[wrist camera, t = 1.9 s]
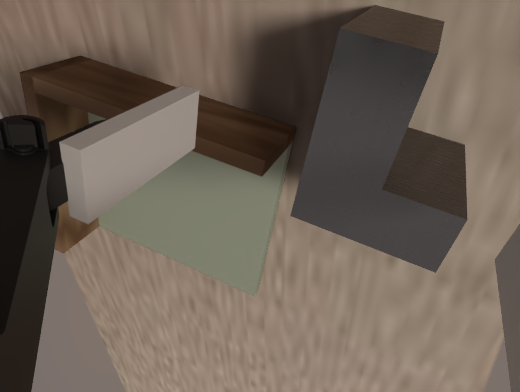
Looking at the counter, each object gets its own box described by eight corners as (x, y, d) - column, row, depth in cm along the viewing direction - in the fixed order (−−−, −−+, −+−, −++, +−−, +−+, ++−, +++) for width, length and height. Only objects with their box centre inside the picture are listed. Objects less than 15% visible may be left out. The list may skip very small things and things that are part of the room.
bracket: (375, 5, 23) (339, 28, 16) (519, 39, 21) (549, 82, 14) (331, 151, 29) (290, 215, 22) (441, 189, 27) (435, 272, 20)
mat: (80, 55, 34) (71, 58, 33) (296, 127, 29) (291, 132, 28) (96, 217, 44) (90, 222, 44) (258, 289, 40) (254, 296, 39)
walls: (80, 55, 34) (19, 72, 29) (296, 127, 29) (265, 160, 25) (96, 217, 44) (54, 248, 40) (258, 289, 40) (231, 335, 35)
